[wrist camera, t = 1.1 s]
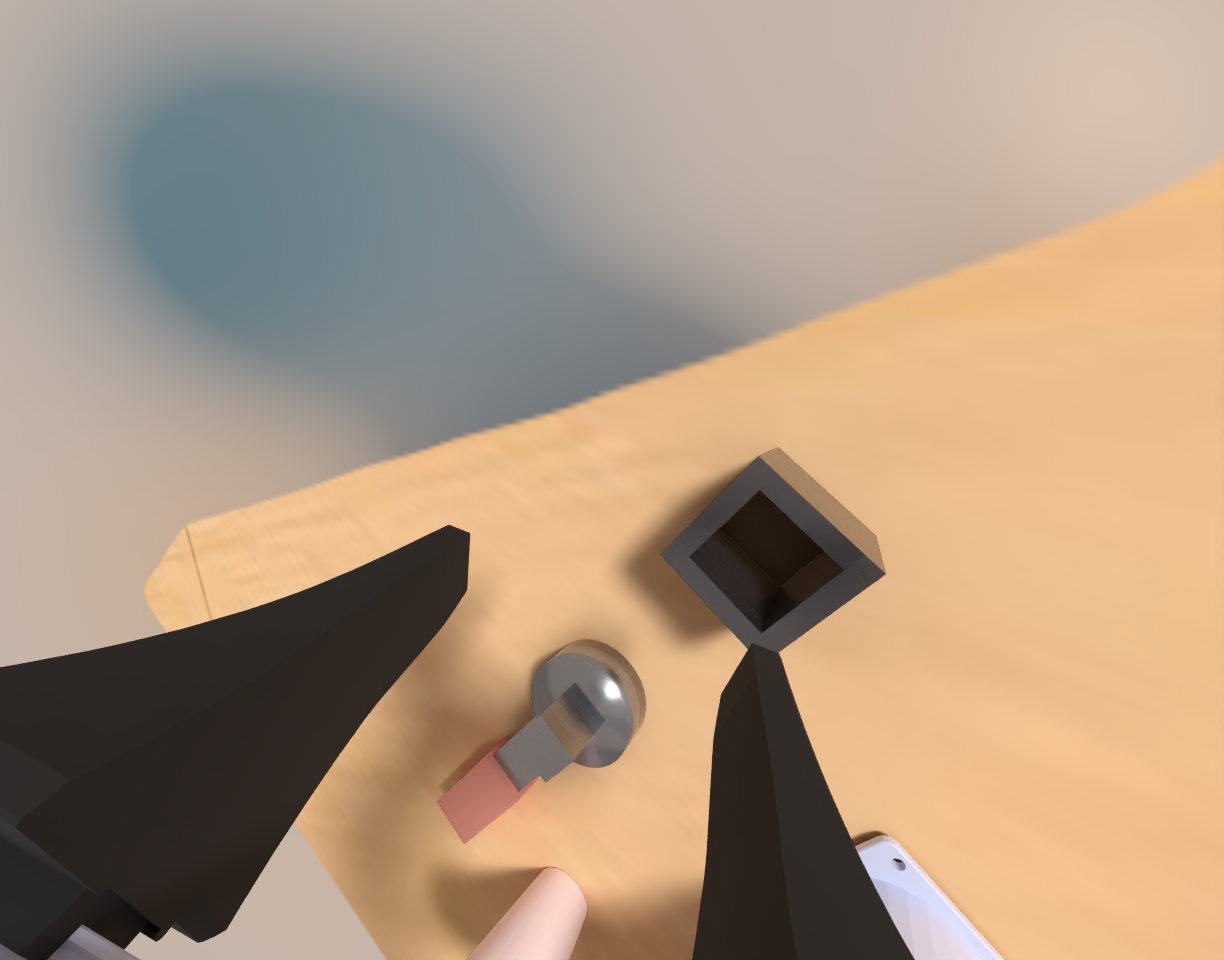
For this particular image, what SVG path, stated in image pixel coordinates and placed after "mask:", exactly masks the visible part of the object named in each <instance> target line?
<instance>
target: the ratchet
mask: <svg viewBox="0 0 1224 960" xmlns="http://www.w3.org/2000/svg"><path fill="white" fill-rule="evenodd" d="M532 705H533V710H534V714H535V717H534V718H533V719H532V720H530V721H529V722H528V723H527V724H526V725H525V726H524V727H523V728H522V729H521V730H520V731H519V732H518V733H516V734H515V735H514V736H513V737H512V738H511V739H509V738H508V737H507V736H506V737H505V738H504V739H503V740H502V741H501V742H500V743H499V744H498V745H497V746H496V747H495V748H493V749H492V750H491V751H490V752H489V753H488V754H487V755H486V756H485V757H484V758H483V759H482V760H481V761H480V762H479V763H477V764H476V765H475V766H474V767H473V768H472V769H471V770H470V771H469V772H468V773H467V774H466V775H465V776H464V777H463V778H462V779H461V780H459V781H458V782H457V783H456V784H455V785H454V786H453V787H452V788H451V789H450V790H449V791H448V792H447V793H446V794H445V795H444V796H442V797H441V798H440V799H439V800H438V801H437V802H438V804H439V805H440V807H441V809H442V810H443V812H444V813H445V815H446V816H447V818H448V820H449V821H450V823H451V824H452V826H453V827H454V829H455V831H456V832H457V834H458V835H459V837H460V839H461V840H462V842H463V843H464V844H465V843H467V842H468V841H469V840H470V839H472V838H473V837H474V836H475V835H476V834H478V833H479V832H480V831H481V830H483V829H484V828H485V827H486V826H488V825H489V824H490V823H491V822H493V821H494V820H495V819H496V818H498V817H499V816H500V815H501V814H503V813H504V812H505V811H506V810H508V809H509V808H510V807H511V806H512V805H514V804H515V803H516V802H517V801H518V800H519V799H520V798H521V797H522V796H523V794H524V793H525V792H526V791H527V790H528V789H529V787H530V786H531V785H532V784H533V783H534V782H535V780H536V779H537V777H538V776H539V775H540V776H541V777H542V778H543V780H544V781H545V783H546V782H547V781H549V780H550V779H551V778H552V777H554V776H555V775H556V774H557V773H559V772H560V771H561V770H562V769H564V768H565V767H566V766H567V765H569V764H570V763H571V762H572V761H573V762H575V763H577V764H580V765H583V766H586V767H593V768H599V767H605V766H608V765H610V764H612V763H614V762H615V761H616V760H617V759H618V758H619V757H620V756H621V755H622V753H623V752H624V750H625V749H626V747H627V746H628V744H629V743H630V742H631V740H632V739H633V737H634V736H635V734H636V733H637V731H638V730H639V728H640V727H641V725H642V723H643V720H644V717H645V711H646V699H645V693H644V689H643V686H642V683H641V681H640V679H639V677H638V675H637V673H636V671H635V670H634V668H633V667H632V665H631V664H630V663H629V662H628V661H627V659H626V658H625V657H624V656H623V655H621V654H620V653H619V652H618V651H616V650H615V649H614V648H612V647H610V646H609V645H607V644H604V643H602V642H599V641H595V640H578V641H575V642H572V643H571V644H569V645H567V646H566V647H565V648H564V649H562V650H561V651H560V652H559V653H557V654H556V655H555V656H554V657H553V658H551V659H550V660H549V661H548V662H546V663H545V664H544V665H543V666H542V667H541V668H540V669H539V670H538V672H537V674H536V676H535V678H534V681H533V685H532Z"/></svg>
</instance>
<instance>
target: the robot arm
mask: <svg viewBox="0 0 1224 960" xmlns="http://www.w3.org/2000/svg"><path fill="white" fill-rule="evenodd" d="M469 546H470V533H469V532H466V531H463V530H461V529H458V528H456V527H453V526H451V525H447V526H445V527H443V528H441V529H439V530H437V531H435V532H432V533H430V534H428V535H426V536H424V537H422V538H420V539H418V540H416V541H414V542H412V543H410V544H408V545H406V546H403V547H401V548H399V549H397V550H395V551H393V552H391V553H389V554H387V555H385V556H382V557H380V558H378V559H376V560H374V561H372V562H369V563H367V564H365V565H363V566H361V567H359V568H356V569H354V570H352V571H349V572H347V573H345V574H342V575H340V576H337V577H335V578H333V579H330V580H328V581H326V582H323V583H321V584H318V585H316V586H313V587H311V588H308V589H306V590H303V591H301V592H298V593H295V594H292V595H290V596H287V597H284V598H281V599H278V600H275V601H272V602H270V603H267V604H264V605H261V606H258V607H255V608H252V609H249V610H246V611H242V612H239V613H235V614H232V615H228V616H225V617H222V618H218V619H215V620H211V621H208V622H204V623H201V624H198V625H194V626H191V627H187V628H183V629H180V630H176V631H172V632H168V633H164V634H160V635H156V636H152V637H148V638H144V639H139V640H135V641H131V642H126V643H122V644H118V645H114V646H109V647H104V648H100V649H95V650H90V651H85V652H80V653H75V654H69V655H65V656H59V657H54V658H48V659H43V660H38V661H33V662H28V663H22V664H17V665H11V666H5V667H0V960H140V959H138V958H137V957H135V956H133V955H132V954H130V953H128V952H127V951H125V950H124V949H125V948H126V947H127V946H128V945H129V944H130V942H131V941H132V940H133V939H134V938H135V937H136V936H137V934H138V933H139V932H141V933H143V934H144V935H146V936H148V937H149V938H151V939H152V940H154V941H156V942H157V941H158V940H160V939H161V938H162V937H163V936H164V935H165V934H166V933H167V931H168V930H169V929H170V928H171V927H172V928H174V929H176V930H177V931H179V932H181V933H182V934H184V935H186V936H187V937H189V938H191V939H192V940H194V941H196V942H197V943H199V942H203V941H205V940H208V939H210V938H212V937H214V936H216V935H218V934H220V933H221V932H223V931H225V930H226V929H227V928H228V926H229V924H230V923H231V921H232V919H233V918H234V916H235V914H236V913H237V911H238V909H239V908H240V906H241V905H242V903H243V901H244V900H245V898H246V897H247V895H248V893H249V892H250V890H251V889H252V887H253V885H254V884H255V882H256V880H257V879H258V877H259V876H260V874H261V872H262V871H263V869H264V867H265V866H266V864H267V863H268V861H269V859H270V858H271V856H272V855H273V853H274V851H275V850H276V848H277V847H278V845H279V844H280V842H281V841H282V839H283V838H284V836H285V835H286V833H287V832H288V830H289V829H290V827H291V825H292V824H293V823H294V821H295V819H296V818H297V816H298V815H299V813H300V812H301V810H302V809H303V807H304V806H305V804H306V803H307V801H308V800H309V798H310V797H311V795H312V794H313V792H314V791H315V789H316V788H317V786H318V785H319V784H320V782H321V781H322V779H323V778H324V776H325V775H326V773H327V772H328V770H329V769H330V768H331V766H332V765H333V763H334V762H335V760H336V759H337V757H338V756H339V754H340V753H341V752H342V750H343V749H344V748H345V746H346V745H347V743H348V742H349V741H350V739H351V738H352V736H353V735H354V734H355V732H356V731H357V729H358V728H359V727H360V725H361V724H362V722H363V721H364V720H365V718H366V717H367V716H368V714H369V713H370V712H371V711H372V709H373V708H374V707H375V705H376V704H377V703H378V702H379V700H380V699H381V698H382V697H383V696H384V695H385V693H386V692H387V691H388V690H389V689H390V688H391V686H392V685H393V684H394V683H395V682H396V681H397V679H398V678H399V677H400V676H401V675H402V674H403V672H404V671H405V670H406V669H407V668H408V667H409V665H410V664H411V663H412V662H413V661H414V660H415V658H416V657H417V656H418V655H419V654H420V653H421V651H422V650H423V649H424V648H425V647H426V646H427V644H428V643H429V642H430V641H431V640H432V638H433V637H434V636H435V635H436V634H437V632H438V631H439V630H440V629H441V628H442V626H443V625H444V624H445V623H446V621H447V620H448V618H449V617H450V615H451V614H452V612H453V611H454V609H455V608H456V606H457V605H458V603H459V602H460V600H461V599H462V597H463V596H464V594H465V592H466V591H467V583H468V565H469ZM894 858H897V859H900V860H901V861H903V862H896V861H894V860H893V859H894ZM692 960H1004V959H1003V958H1002V957H1001V955H1000V954H999V953H998V952H997V951H996V950H995V949H994V948H993V947H992V946H991V944H990V943H989V942H988V941H987V940H986V939H985V938H984V937H983V936H982V935H981V933H980V932H979V931H978V930H977V929H976V928H975V927H974V926H973V925H972V924H971V922H970V921H969V920H968V919H967V918H966V917H965V916H964V915H963V914H962V913H961V911H960V910H959V909H958V908H957V907H956V906H955V905H954V904H953V903H952V902H951V900H950V899H949V898H948V897H947V896H946V895H945V894H944V893H943V892H942V890H941V889H940V888H939V887H938V886H937V885H936V884H935V883H934V882H933V881H932V879H931V878H930V877H929V876H928V875H927V874H926V873H925V872H924V871H923V870H922V868H921V867H920V866H919V865H918V864H917V863H916V862H915V861H914V860H913V859H912V857H911V856H910V855H909V854H908V853H907V852H906V851H905V850H904V849H903V848H902V846H901V845H900V844H899V843H898V842H897V841H896V840H894V839H893V838H891V837H889V836H885V835H880V836H877V837H875V838H872V839H870V840H868V841H866V842H864V843H861V844H859V845H857V846H855V845H854V843H853V841H852V839H851V837H850V835H849V833H848V831H847V828H846V826H845V824H844V822H843V820H842V818H841V815H840V813H839V811H838V808H837V806H836V804H835V802H834V799H833V797H832V795H831V792H830V790H829V788H828V785H827V783H826V781H825V778H824V776H823V773H822V771H821V769H820V766H819V763H818V761H817V758H816V756H815V753H814V751H813V748H812V745H811V743H810V740H809V738H808V735H807V732H806V730H805V727H804V724H803V722H802V719H801V716H800V713H799V710H798V707H797V705H796V702H795V699H794V696H793V693H792V690H791V687H790V684H789V681H788V678H787V675H786V672H785V669H784V666H783V663H782V659H781V657H780V655H779V653H777V652H774V651H772V650H769V649H766V648H764V647H761V646H759V645H756V644H754V643H752V644H751V646H750V647H749V649H748V651H747V652H746V654H745V656H744V657H743V659H742V660H741V662H740V664H739V665H738V667H737V669H736V670H735V672H734V674H733V675H732V677H731V679H730V680H729V682H728V684H727V685H726V687H725V689H724V690H723V692H722V694H721V698H720V704H719V709H718V715H717V720H716V727H715V733H714V739H713V754H712V770H711V787H710V804H709V822H708V839H707V854H706V865H705V876H704V883H703V890H702V897H701V904H700V911H699V918H698V925H697V932H696V939H695V945H694V951H693V958H692Z"/></svg>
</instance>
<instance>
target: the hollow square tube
mask: <svg viewBox="0 0 1224 960" xmlns="http://www.w3.org/2000/svg"><path fill="white" fill-rule="evenodd" d="M760 491H761V492H762V493H763V494H764V495H766V496H767V497H768V498H769V499H770V500H771V501H772V502H773V503H774V504H775V505H776V506H777V507H778V508H779V509H780V510H781V511H782V512H783V513H784V514H786V515H787V516H788V517H789V518H790V519H791V520H792V521H793V522H794V523H795V524H796V525H797V526H798V527H799V528H800V529H801V530H802V531H803V532H804V533H805V534H807V535H808V536H809V537H810V538H811V539H812V540H813V541H814V542H815V543H816V544H817V545H818V546H819V547H820V548H821V549H822V550H823V552H822V553H820V554H819V555H818V556H817V557H815V558H814V559H813V560H812V561H810V562H809V563H808V564H807V565H806V566H804V567H803V568H802V569H801V570H799V571H798V572H797V573H796V574H794V575H793V576H792V577H791V578H789V579H788V580H787V581H786V582H785V583H783V584H782V585H781V586H779V585H778V584H777V583H776V582H775V581H774V580H773V579H772V578H771V577H770V576H769V575H768V574H767V573H766V572H765V571H764V570H763V569H762V568H761V567H760V566H759V565H758V564H757V562H756V561H755V560H754V559H753V558H752V557H751V556H750V555H749V554H748V553H747V552H746V551H745V550H744V549H743V548H742V547H741V546H740V545H739V544H738V543H737V542H736V541H735V540H734V539H733V538H732V537H731V536H730V535H729V534H728V533H727V532H726V531H725V530H724V529H723V528H722V527H723V526H724V525H725V524H726V523H727V522H728V521H729V520H730V519H731V518H732V517H733V516H734V515H735V514H736V513H737V512H738V511H740V510H741V509H742V508H743V507H744V506H745V505H746V504H747V503H748V502H749V501H750V500H751V499H752V498H753V497H754V496H755V495H756V494H757V493H758V492H760ZM660 555H661V556H662V557H663V558H664V559H665V560H666V561H667V562H668V563H669V564H670V565H671V567H672V568H673V569H674V570H675V571H676V572H677V573H678V574H679V575H680V576H681V577H682V578H683V580H684V581H685V582H686V583H687V584H688V585H689V586H690V587H691V588H692V589H693V590H694V591H695V592H696V594H697V595H698V596H699V597H700V598H701V599H702V600H703V601H704V602H705V603H706V604H707V605H708V607H709V608H710V609H711V610H712V611H713V612H714V613H715V614H716V615H717V616H718V617H719V618H720V620H721V621H722V622H723V623H724V624H725V625H726V626H727V627H728V628H729V629H730V630H731V631H732V632H733V634H734V635H735V636H736V637H737V638H738V639H739V640H740V641H741V642H742V643H743V644H744V645H745V647H746V648H747V649H749V647H750V646H751V644H752V643H754V644H756V645H759V646H761V647H764V648H766V649H769V650H772V651H774V652H777V653H778V652H780V651H781V650H783V649H784V648H785V647H787V646H788V645H789V644H791V643H792V642H794V641H795V640H796V639H798V638H799V637H800V636H802V635H803V634H804V633H806V632H807V631H809V630H810V629H811V628H813V627H814V626H815V625H817V624H818V623H820V622H821V621H822V620H824V619H825V618H826V617H828V616H829V615H831V614H832V613H833V612H835V611H836V610H837V609H839V608H840V607H841V606H843V605H844V604H846V603H847V602H848V601H850V600H851V599H852V598H854V597H855V596H857V595H858V594H859V593H861V592H862V591H863V590H865V589H866V588H867V587H869V586H870V585H872V584H873V583H874V582H876V581H877V580H878V579H880V578H881V577H883V576H884V575H885V574H886V572H885V568H884V564H883V560H882V557H881V553H880V549H879V545H878V541H877V538H876V535H875V534H874V533H872V532H871V531H870V530H869V529H868V528H867V527H866V526H865V525H864V524H863V523H861V522H860V521H859V520H858V519H857V518H856V517H855V516H854V515H853V514H851V513H850V512H849V511H848V510H847V509H846V508H845V507H844V506H843V505H842V504H840V503H839V502H838V501H837V500H836V499H835V498H834V497H833V496H832V495H831V494H829V493H828V492H827V491H826V490H825V489H824V488H823V487H822V486H821V485H819V484H818V483H817V482H816V481H815V480H814V479H813V478H812V477H811V476H810V475H808V474H807V473H806V472H805V471H804V470H803V469H802V468H801V467H800V466H799V465H797V464H796V463H795V462H794V461H793V460H792V459H791V458H790V457H789V456H788V455H786V454H785V453H784V452H783V451H782V450H781V449H780V448H779V447H778V448H776V449H773V450H771V451H769V452H766V453H764V454H762V455H760V456H758V457H757V458H756V459H755V460H754V461H753V462H752V463H751V464H750V465H749V466H748V467H747V468H746V469H745V470H744V471H743V472H742V473H741V474H740V475H739V476H738V477H737V478H736V479H735V480H734V481H733V482H732V483H731V484H730V485H729V486H728V487H727V488H726V489H725V490H724V491H723V492H722V493H721V494H720V495H719V496H718V497H717V498H716V499H715V500H714V501H713V502H712V503H711V504H710V505H709V506H708V507H707V508H706V509H705V510H704V511H703V512H702V513H701V514H700V515H699V516H698V517H697V518H696V519H695V520H694V521H693V522H692V523H691V524H690V525H689V526H688V527H687V528H686V529H685V530H684V531H683V532H682V533H681V534H680V535H679V536H678V537H677V538H676V539H675V540H674V541H673V542H672V543H671V544H670V545H669V546H668V547H667V548H666V549H665V550H664V551H663V552H662V553H661V554H660Z"/></svg>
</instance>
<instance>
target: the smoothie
mask: <svg viewBox="0 0 1224 960" xmlns="http://www.w3.org/2000/svg"><path fill="white" fill-rule="evenodd" d="M586 915H587V905H586V901H585V898H584V895H583V893H582V891H581V889H580V888H579V886H578V885H577V884H576V882H575V881H574V880H573V879H572V878H571V877H570V876H569V875H568V874H566V873H565V872H563V871H562V870H560V869H557V868H553V867H548V868H545V869H544V870H543V871H542V872H541V873H540V874H539V875H538V876H537V878H536V879H535V880H534V881H533V882H532V883H531V885H530V886H529V887H528V888H527V889H526V890H525V892H524V893H523V894H522V895H521V896H520V897H519V899H518V900H517V901H516V902H515V903H514V904H513V905H512V907H511V908H510V909H509V910H508V911H507V912H506V914H505V915H504V916H503V917H502V918H501V919H500V921H499V922H498V923H497V924H496V925H495V926H494V928H493V929H492V930H491V931H490V932H489V933H488V935H487V936H486V937H485V938H484V939H483V940H482V942H481V943H480V944H479V945H478V946H477V947H476V948H475V950H474V951H473V952H472V953H471V954H470V955H469V957H468V958H467V959H466V960H569V959H570V957H571V954H572V952H573V949H574V946H575V944H576V941H577V939H578V936H579V933H580V931H581V928H582V926H583V923H584V920H585V918H586Z"/></svg>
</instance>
